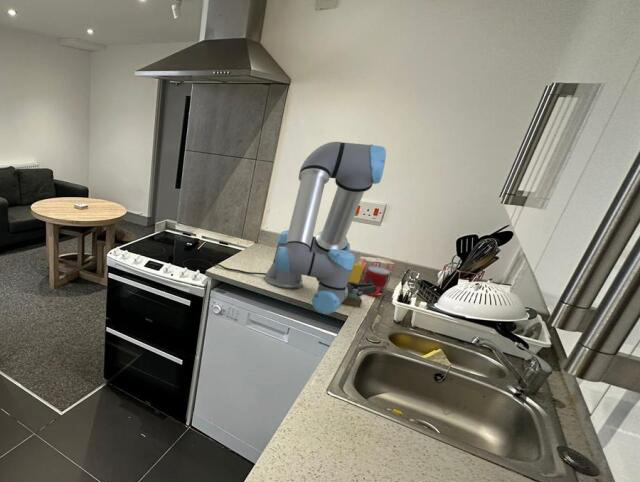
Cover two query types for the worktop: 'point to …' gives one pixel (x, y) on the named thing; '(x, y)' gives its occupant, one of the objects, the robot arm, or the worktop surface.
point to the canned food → (377, 279)
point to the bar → (356, 272)
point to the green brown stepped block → (352, 300)
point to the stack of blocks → (375, 262)
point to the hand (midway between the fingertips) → (349, 275)
